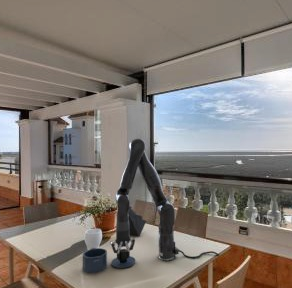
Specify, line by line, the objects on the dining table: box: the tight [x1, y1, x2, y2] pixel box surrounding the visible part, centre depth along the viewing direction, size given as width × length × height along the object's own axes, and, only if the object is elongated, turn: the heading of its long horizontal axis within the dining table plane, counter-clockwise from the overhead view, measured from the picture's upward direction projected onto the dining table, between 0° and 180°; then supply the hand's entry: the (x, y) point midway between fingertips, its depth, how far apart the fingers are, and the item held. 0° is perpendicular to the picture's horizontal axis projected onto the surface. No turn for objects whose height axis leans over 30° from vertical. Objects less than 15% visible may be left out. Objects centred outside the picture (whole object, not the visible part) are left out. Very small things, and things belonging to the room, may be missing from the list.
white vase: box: [83, 228, 103, 250], centre depth 151 cm, size 11×11×15 cm
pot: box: [82, 247, 108, 274], centre depth 135 cm, size 13×18×8 cm
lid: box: [110, 248, 136, 269], centre depth 139 cm, size 14×14×7 cm
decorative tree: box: [129, 206, 147, 238], centre depth 184 cm, size 15×15×35 cm
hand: (123, 258), depth 139 cm, fingers closed on lid, 4 cm apart
